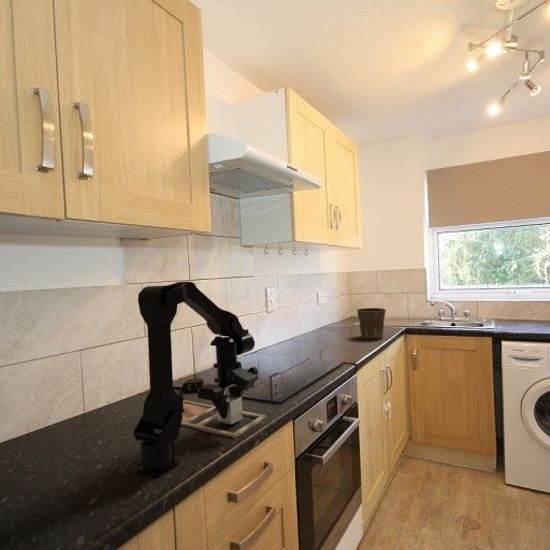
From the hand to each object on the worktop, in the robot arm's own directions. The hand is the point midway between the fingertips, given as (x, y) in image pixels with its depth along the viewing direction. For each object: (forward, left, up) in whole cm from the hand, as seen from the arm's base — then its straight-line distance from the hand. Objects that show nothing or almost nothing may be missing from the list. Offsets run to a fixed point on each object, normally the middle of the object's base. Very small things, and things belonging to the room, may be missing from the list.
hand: (230, 415), depth 106 cm
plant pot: (+130, +2, -2) cm, 130 cm away
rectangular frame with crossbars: (0, +9, -2) cm, 9 cm away
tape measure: (+17, +32, -3) cm, 37 cm away
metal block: (0, 0, -1) cm, 1 cm away
